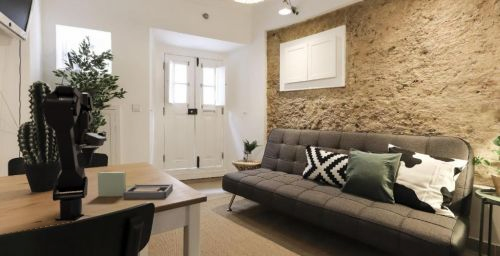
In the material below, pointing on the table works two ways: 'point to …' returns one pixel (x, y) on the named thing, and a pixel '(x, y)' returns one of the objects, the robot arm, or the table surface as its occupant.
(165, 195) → the rack
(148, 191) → the offcut top
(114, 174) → the board
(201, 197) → the table surface
